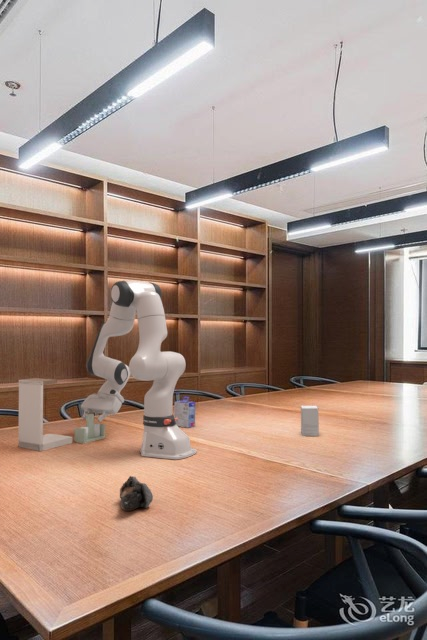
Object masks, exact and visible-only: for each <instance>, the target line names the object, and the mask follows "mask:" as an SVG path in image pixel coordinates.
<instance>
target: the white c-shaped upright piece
mask: <svg viewBox="0 0 427 640" xmlns="http://www.w3.org/2000/svg"><path fill="white" fill-rule="evenodd" d="M55 384H58V379H53V378H38V377H34V378H33V377H32V378H22V379H18V448H23V449H29V450H33V451H37V452H43V451H46V450H50V449H51V450H52V449H54V448H58V447H61V446H66V445H70V444H73V436H69V435H62V434H56V433H52V432H51V433H47V434H44V386H46V385H55Z"/></svg>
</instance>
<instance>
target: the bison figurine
mask: <svg viewBox="0 0 427 640" xmlns="http://www.w3.org/2000/svg"><path fill="white" fill-rule="evenodd" d="M153 497H154V495H153V492H152V491H151V489H150V488H149V486H148V485H147V484H146V483H142V482H140V481H139V480H138V479H137V477H136V476H132V475H129V477H128V478H127V480H126V481H125V482H124V483H122V485H121V487H120V488H119V499H120V506H121V507H120V508H121V509H122V510H123V511H126V512H127V511H129V512H130V511H133V510H136V509H138V508H143V509H147V508H149V506H150V505H151V504H152V502H153Z"/></svg>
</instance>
